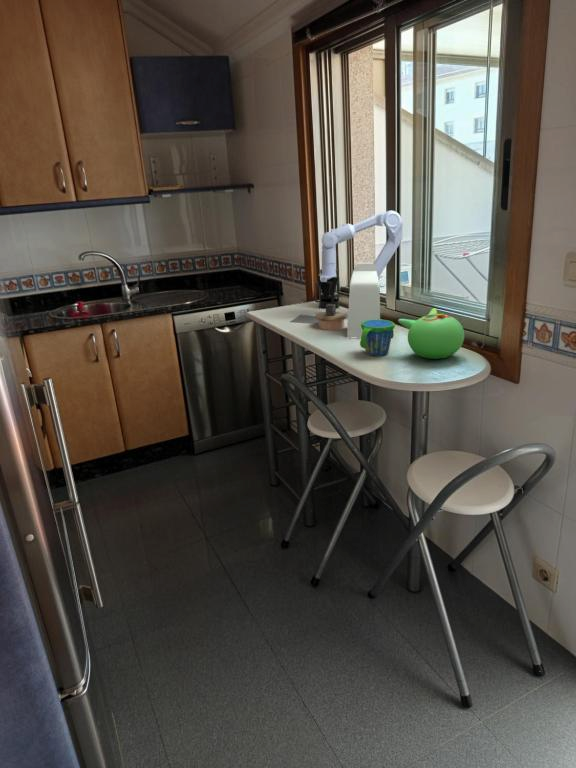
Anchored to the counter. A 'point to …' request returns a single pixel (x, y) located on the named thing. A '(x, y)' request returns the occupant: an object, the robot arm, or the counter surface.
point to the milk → (363, 298)
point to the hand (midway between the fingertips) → (328, 296)
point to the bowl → (331, 325)
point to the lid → (330, 314)
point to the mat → (305, 319)
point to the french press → (331, 300)
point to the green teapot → (434, 335)
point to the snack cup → (377, 336)
